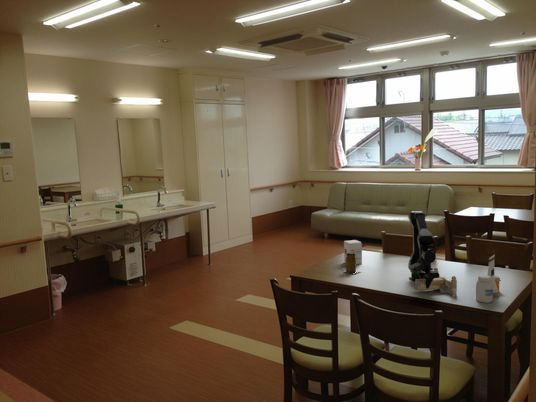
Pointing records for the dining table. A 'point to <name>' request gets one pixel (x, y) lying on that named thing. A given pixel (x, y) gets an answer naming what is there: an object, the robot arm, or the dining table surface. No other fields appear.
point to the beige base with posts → (448, 285)
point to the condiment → (350, 263)
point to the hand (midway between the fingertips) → (425, 287)
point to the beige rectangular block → (434, 285)
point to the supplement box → (353, 250)
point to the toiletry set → (487, 284)
